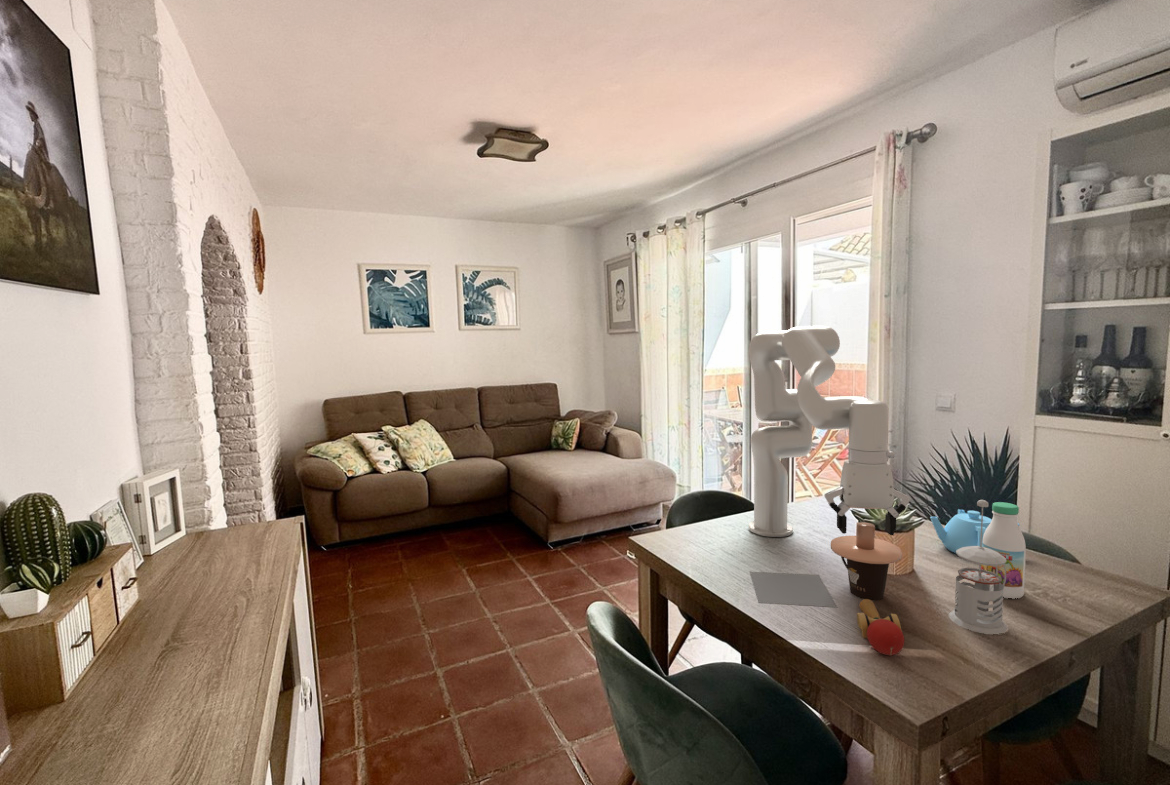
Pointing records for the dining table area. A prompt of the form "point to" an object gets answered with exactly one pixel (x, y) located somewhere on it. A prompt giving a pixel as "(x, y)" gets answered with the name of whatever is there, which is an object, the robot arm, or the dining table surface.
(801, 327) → the robot arm
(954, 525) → the teapot
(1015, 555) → the milk bottle
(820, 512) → the dining table surface
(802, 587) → the mat
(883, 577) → the coffee mug
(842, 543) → the lid
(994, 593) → the french press
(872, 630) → the kendama
